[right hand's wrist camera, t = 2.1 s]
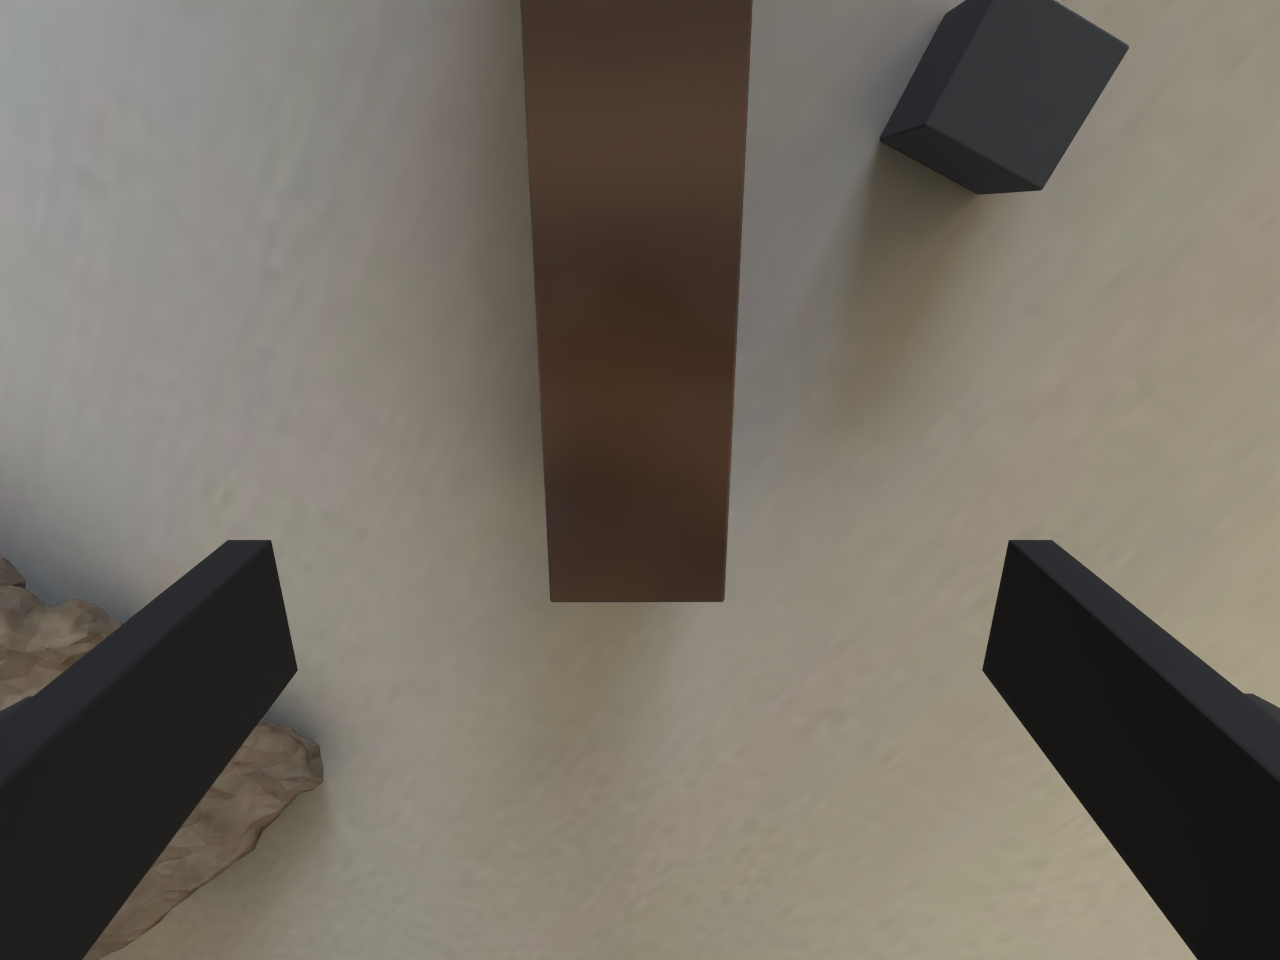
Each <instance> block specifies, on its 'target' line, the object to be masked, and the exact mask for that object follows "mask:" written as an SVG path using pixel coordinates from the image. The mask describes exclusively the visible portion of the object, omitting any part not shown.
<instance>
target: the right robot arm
mask: <svg viewBox="0 0 1280 960" xmlns="http://www.w3.org/2000/svg"><path fill="white" fill-rule="evenodd" d="M297 671H298V669H297V665H296V660H295V655H294V650H293V645H292V640H291V635H290V630H289V626H288V621H287V616H286V611H285V606H284V601H283V596H282V591H281V586H280V582H279V577H278V572H277V567H276V562H275V557H274V552H273V547H272V543H271V540H228V541H226V542H225V543H224V544H223V545H221V546H220V547H219V548H218V549H216V550H215V551H214V552H213V553H211V554H210V555H209V556H208V557H206V558H205V559H204V560H203V561H201V562H200V563H199V564H198V565H196V566H195V567H194V568H193V569H191V570H190V571H189V572H188V573H186V574H185V575H184V576H183V577H181V578H180V579H179V580H178V581H176V582H175V583H174V584H173V585H171V586H170V587H169V588H168V589H166V590H165V591H164V592H163V593H161V594H160V595H159V596H158V597H156V598H155V599H154V600H153V601H151V602H150V603H149V604H148V605H146V606H145V607H144V608H143V609H141V610H140V611H139V612H138V613H136V614H135V615H134V616H133V617H131V618H130V619H129V620H128V621H126V622H125V623H124V624H123V625H121V626H120V627H119V628H118V629H116V630H115V631H114V632H113V633H111V634H110V635H109V636H108V637H106V638H105V639H104V640H103V641H101V642H100V643H99V644H98V645H96V646H95V647H94V648H93V649H91V650H90V651H89V652H88V653H86V654H85V655H84V656H83V657H81V658H80V659H79V660H78V661H76V662H75V663H74V664H73V665H71V666H70V667H69V668H68V669H66V670H65V671H64V672H63V673H61V674H60V675H59V676H58V677H56V678H55V679H54V680H53V681H52V682H50V683H49V684H48V685H47V686H45V687H44V688H43V689H42V690H40V691H39V692H38V693H37V694H35V695H34V696H28V697H26V698H24V699H22V700H20V701H19V702H17V703H15V704H13V705H11V706H9V707H7V708H5V709H3V710H2V711H0V960H82V959H83V958H84V957H85V955H86V954H87V953H88V951H89V950H90V949H91V947H92V946H93V945H94V943H95V942H96V941H97V939H98V938H99V937H100V935H101V934H102V933H103V931H104V930H105V928H106V927H107V926H108V924H109V923H110V922H111V920H112V919H113V918H114V916H115V915H116V914H117V912H118V911H119V910H120V908H121V907H122V906H123V904H124V903H125V902H126V900H127V899H128V898H129V896H130V895H131V894H132V892H133V891H134V890H135V888H136V887H137V885H138V884H139V883H140V881H141V880H142V879H143V877H144V876H145V875H146V873H147V872H148V871H149V869H150V868H151V867H152V865H153V864H154V863H155V861H156V860H157V859H158V857H159V856H160V855H161V853H162V852H163V851H164V849H165V848H166V847H167V845H168V844H169V842H170V841H171V840H172V838H173V837H174V836H175V834H176V833H177V832H178V830H179V829H180V828H181V826H182V825H183V824H184V822H185V821H186V820H187V818H188V817H189V816H190V814H191V813H192V812H193V810H194V809H195V808H196V806H197V805H198V804H199V802H200V801H201V799H202V798H203V797H204V795H205V794H206V793H207V791H208V790H209V789H210V787H211V786H212V785H213V783H214V782H215V781H216V779H217V778H218V777H219V775H220V774H221V773H222V771H223V770H224V769H225V767H226V766H227V765H228V763H229V762H230V761H231V759H232V758H233V757H234V755H235V754H236V752H237V751H238V750H239V748H240V747H241V746H242V744H243V743H244V742H245V740H246V739H247V738H248V736H249V735H250V734H251V732H252V731H253V730H254V728H255V727H256V726H257V724H258V723H259V722H260V720H261V719H262V718H263V716H264V715H265V714H266V712H267V711H268V709H269V708H270V707H271V705H272V704H273V703H274V701H275V700H276V699H277V697H278V696H279V695H280V693H281V692H282V691H283V689H284V688H285V687H286V685H287V684H288V683H289V681H290V680H291V679H292V677H293V676H294V675H295V673H296V672H297ZM982 671H983V672H984V673H985V675H986V676H987V677H988V679H989V680H990V681H991V683H992V684H993V685H994V687H995V688H996V689H997V691H998V692H999V693H1000V695H1001V696H1002V697H1003V699H1004V700H1005V701H1006V703H1007V704H1008V705H1009V707H1010V708H1011V709H1012V711H1013V712H1014V714H1015V715H1016V716H1017V718H1018V719H1019V720H1020V722H1021V723H1022V724H1023V726H1024V727H1025V728H1026V730H1027V731H1028V732H1029V734H1030V735H1031V736H1032V738H1033V739H1034V740H1035V742H1036V743H1037V744H1038V746H1039V747H1040V748H1041V750H1042V751H1043V752H1044V754H1045V755H1046V757H1047V758H1048V759H1049V761H1050V762H1051V763H1052V765H1053V766H1054V767H1055V769H1056V770H1057V771H1058V773H1059V774H1060V775H1061V777H1062V778H1063V779H1064V781H1065V782H1066V783H1067V785H1068V786H1069V787H1070V789H1071V790H1072V791H1073V793H1074V794H1075V795H1076V797H1077V798H1078V800H1079V801H1080V802H1081V804H1082V805H1083V806H1084V808H1085V809H1086V810H1087V812H1088V813H1089V814H1090V816H1091V817H1092V818H1093V820H1094V821H1095V822H1096V824H1097V825H1098V826H1099V828H1100V829H1101V830H1102V832H1103V833H1104V834H1105V836H1106V837H1107V838H1108V840H1109V841H1110V842H1111V844H1112V845H1113V847H1114V848H1115V849H1116V851H1117V852H1118V853H1119V855H1120V856H1121V857H1122V859H1123V860H1124V861H1125V863H1126V864H1127V865H1128V867H1129V868H1130V869H1131V871H1132V872H1133V873H1134V875H1135V876H1136V877H1137V879H1138V880H1139V881H1140V883H1141V884H1142V885H1143V887H1144V888H1145V890H1146V891H1147V892H1148V894H1149V895H1150V896H1151V898H1152V899H1153V900H1154V902H1155V903H1156V904H1157V906H1158V907H1159V908H1160V910H1161V911H1162V912H1163V914H1164V915H1165V916H1166V918H1167V919H1168V920H1169V922H1170V923H1171V924H1172V926H1173V927H1174V928H1175V930H1176V931H1177V933H1178V934H1179V935H1180V937H1181V938H1182V939H1183V941H1184V942H1185V943H1186V945H1187V946H1188V947H1189V949H1190V950H1191V951H1192V953H1193V954H1194V955H1195V957H1196V958H1197V959H1198V960H1280V708H1279V707H1277V706H1275V705H1273V704H1271V703H1269V702H1267V701H1265V700H1263V699H1261V698H1260V697H1258V696H1256V695H1254V694H1243V693H1242V692H1241V691H1240V690H1238V689H1237V688H1236V687H1235V686H1233V685H1232V684H1231V683H1230V682H1228V681H1227V680H1226V679H1225V678H1223V677H1222V676H1221V675H1220V674H1219V673H1217V672H1216V671H1215V670H1214V669H1212V668H1211V667H1210V666H1209V665H1207V664H1206V663H1205V662H1204V661H1202V660H1201V659H1200V658H1199V657H1197V656H1196V655H1195V654H1194V653H1192V652H1191V651H1190V650H1189V649H1187V648H1186V647H1185V646H1184V645H1182V644H1181V643H1180V642H1179V641H1177V640H1176V639H1175V638H1174V637H1172V636H1171V635H1170V634H1169V633H1167V632H1166V631H1165V630H1164V629H1162V628H1161V627H1160V626H1159V625H1157V624H1156V623H1155V622H1154V621H1152V620H1151V619H1150V618H1149V617H1147V616H1146V615H1145V614H1144V613H1142V612H1141V611H1140V610H1139V609H1137V608H1136V607H1135V606H1134V605H1132V604H1131V603H1130V602H1129V601H1127V600H1126V599H1125V598H1124V597H1122V596H1121V595H1120V594H1119V593H1117V592H1116V591H1115V590H1114V589H1112V588H1111V587H1110V586H1109V585H1107V584H1106V583H1105V582H1104V581H1102V580H1101V579H1100V578H1099V577H1097V576H1096V575H1095V574H1094V573H1092V572H1091V571H1090V570H1089V569H1087V568H1086V567H1085V566H1084V565H1082V564H1081V563H1080V562H1079V561H1077V560H1076V559H1075V558H1074V557H1072V556H1071V555H1070V554H1069V553H1067V552H1066V551H1065V550H1064V549H1062V548H1061V547H1060V546H1059V545H1057V544H1056V543H1055V542H1054V541H1052V540H1009V543H1008V547H1007V552H1006V557H1005V562H1004V567H1003V572H1002V577H1001V582H1000V586H999V591H998V596H997V601H996V606H995V611H994V616H993V621H992V626H991V630H990V635H989V640H988V645H987V650H986V655H985V660H984V665H983V669H982Z"/></svg>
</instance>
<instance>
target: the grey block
mask: <svg viewBox="0 0 1280 960" xmlns="http://www.w3.org/2000/svg"><path fill="white" fill-rule="evenodd" d="M1128 49H1129V46H1128V45H1127V44H1125V43H1124V42H1122V41H1121V40H1119V39H1117V38H1116V37H1114V36H1112V35H1111V34H1109V33H1107V32H1106V31H1104V30H1102V29H1101V28H1099V27H1097V26H1096V25H1094V24H1092V23H1091V22H1089V21H1088V20H1086V19H1084V18H1083V17H1081V16H1079V15H1078V14H1076V13H1074V12H1073V11H1071V10H1069V9H1068V8H1066V7H1064V6H1063V5H1061V4H1059V3H1058V2H1056V1H1054V0H966V1H964V2H963V3H961V4H960V5H958V6H957V7H955V8H954V9H952V10H951V11H949V12H948V13H946V14H945V16H944V18H943V20H942V21H941V23H940V25H939V27H938V29H937V31H936V33H935V35H934V37H933V38H932V40H931V42H930V44H929V46H928V48H927V50H926V52H925V54H924V56H923V57H922V59H921V61H920V63H919V65H918V67H917V69H916V71H915V73H914V74H913V76H912V78H911V80H910V82H909V84H908V86H907V88H906V90H905V92H904V93H903V95H902V97H901V99H900V101H899V103H898V105H897V107H896V109H895V110H894V112H893V114H892V116H891V118H890V120H889V122H888V124H887V126H886V128H885V129H884V131H883V133H882V135H881V137H880V141H881V142H883V143H885V144H887V145H889V146H890V147H892V148H894V149H896V150H898V151H900V152H901V153H903V154H905V155H907V156H909V157H911V158H912V159H914V160H916V161H918V162H920V163H922V164H923V165H925V166H927V167H929V168H931V169H933V170H934V171H936V172H938V173H940V174H942V175H944V176H945V177H947V178H949V179H951V180H953V181H955V182H956V183H958V184H960V185H962V186H964V187H966V188H967V189H969V190H971V191H973V192H975V193H977V194H994V193H1009V192H1023V191H1038V190H1042V189H1043V187H1044V186H1045V184H1046V182H1047V181H1048V179H1049V177H1050V176H1051V174H1052V173H1053V171H1054V169H1055V168H1056V166H1057V164H1058V163H1059V161H1060V160H1061V158H1062V156H1063V155H1064V153H1065V151H1066V150H1067V148H1068V147H1069V145H1070V143H1071V142H1072V140H1073V138H1074V137H1075V135H1076V133H1077V132H1078V130H1079V129H1080V127H1081V125H1082V124H1083V122H1084V120H1085V119H1086V117H1087V116H1088V114H1089V112H1090V111H1091V109H1092V107H1093V106H1094V104H1095V103H1096V101H1097V99H1098V98H1099V96H1100V94H1101V93H1102V91H1103V89H1104V88H1105V86H1106V85H1107V83H1108V81H1109V80H1110V78H1111V76H1112V75H1113V73H1114V72H1115V70H1116V68H1117V67H1118V65H1119V63H1120V62H1121V60H1122V59H1123V57H1124V55H1125V54H1126V52H1127V50H1128Z"/></svg>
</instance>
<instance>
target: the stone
mask: <svg viewBox="0 0 1280 960" xmlns="http://www.w3.org/2000/svg"><path fill="white" fill-rule="evenodd" d="M25 584H26V581H25V580H24V579H23V577H22V576H21V575H20V574H19V572H18V571H17V570H16V569H15V567H14V566H13V565H12V564H11V562H9V561H8V560H7V559H5V558H4V557H2V556H1V555H0V711H2V710H3V709H5V708H7V707H9V706H11V705H13V704H15V703H17V702H19V701H20V700H22V699H24V698H26V697H28V696H34V695H35V694H37V693H38V692H39V691H40V690H42V689H43V688H44V687H45V686H47V685H48V684H49V683H50V682H52V681H53V680H54V679H55V678H56V677H58V676H59V675H60V674H61V673H63V672H64V671H65V670H66V669H68V668H69V667H70V666H71V665H73V664H74V663H75V662H76V661H78V660H79V659H80V658H81V657H83V656H84V655H85V654H86V653H88V652H89V651H90V650H91V649H93V648H94V647H95V646H96V645H98V644H99V643H100V642H101V641H103V640H104V639H105V638H106V637H108V636H109V635H110V634H111V633H113V632H114V631H115V630H116V629H118V628H119V627H120V626H121V624H120V623H119V622H117V621H116V620H114V619H113V618H111V617H110V616H109V615H108V614H107V613H106V612H105V611H104V610H103V609H101V608H99V607H97V606H96V605H92V604H86V603H84V602H83V601H80V600H76V599H72V600H69V601H66V602H63V603H60V604H57V605H54V606H51V605H45V604H43V603H42V602H41V601H40V600H39V599H38V598H37V597H36V596H35V595H34V594H33V593H31V592H29V591H27V590H25ZM322 782H323V765H322V760H321V756H320V748H319V745H318V744H316V743H314V742H313V741H311V740H309V739H306V738H304V737H302V736H300V735H298V734H297V733H296V732H295V731H294V730H293V729H292V728H290V727H279V726H277V725H275V724H273V723H271V722H269V721H267V720H264V719H261V720H260V722H259V723H258V724H257V726H256V727H255V728H254V730H253V731H252V732H251V734H250V735H249V736H248V738H247V739H246V740H245V742H244V743H243V744H242V746H241V747H240V748H239V750H238V751H237V752H236V754H235V755H234V757H233V758H232V759H231V761H230V762H229V763H228V765H227V766H226V767H225V769H224V770H223V771H222V773H221V774H220V775H219V777H218V778H217V779H216V781H215V782H214V783H213V785H212V786H211V787H210V789H209V790H208V791H207V793H206V794H205V795H204V797H203V798H202V799H201V801H200V802H199V804H198V805H197V806H196V808H195V809H194V810H193V812H192V813H191V814H190V816H189V817H188V818H187V820H186V821H185V822H184V824H183V825H182V826H181V828H180V829H179V830H178V832H177V833H176V834H175V836H174V837H173V838H172V840H171V841H170V842H169V844H168V845H167V847H166V848H165V849H164V851H163V852H162V853H161V855H160V856H159V857H158V859H157V860H156V861H155V863H154V864H153V865H152V867H151V868H150V869H149V871H148V872H147V873H146V875H145V876H144V877H143V879H142V880H141V881H140V883H139V884H138V885H137V887H136V888H135V890H134V891H133V892H132V894H131V895H130V896H129V898H128V899H127V900H126V902H125V903H124V904H123V906H122V907H121V908H120V910H119V911H118V912H117V914H116V915H115V916H114V918H113V919H112V920H111V922H110V923H109V924H108V926H107V927H106V928H105V930H104V931H103V933H102V934H101V935H100V937H99V938H98V939H97V941H96V942H95V943H94V945H93V946H92V947H91V949H90V950H89V951H88V953H87V954H86V955H85V957H84V958H83V959H82V960H98V959H100V958H102V957H104V956H106V955H108V954H110V953H112V952H114V951H117V950H119V949H121V948H124V947H125V946H126V945H128V944H129V943H131V942H132V941H134V940H135V939H137V938H138V937H140V936H141V935H142V934H144V933H145V932H147V931H148V930H149V929H151V928H152V927H153V926H155V925H156V924H158V923H159V922H160V921H161V920H162V919H163V918H164V917H165V916H166V914H167V913H168V912H169V911H170V910H171V909H172V908H174V907H175V906H177V905H178V904H179V903H181V902H182V901H183V900H185V899H186V898H188V897H189V896H190V895H191V894H193V893H194V892H195V891H196V890H197V889H199V887H201V886H203V885H204V884H206V883H208V882H209V881H211V880H212V879H214V878H215V877H217V876H218V875H219V874H221V873H222V872H223V871H225V870H226V869H227V868H228V867H230V866H231V865H232V864H234V863H235V862H236V861H238V860H239V859H241V858H242V857H244V856H245V855H247V854H248V853H250V852H251V851H253V850H254V849H255V847H256V844H257V842H258V840H259V838H260V836H261V833H262V831H263V830H264V829H265V828H266V827H267V826H269V825H270V824H271V823H272V822H273V821H274V820H275V819H276V818H277V817H278V816H279V815H280V813H281V812H282V811H283V810H284V809H285V808H286V807H287V806H288V805H289V804H290V803H291V802H292V801H293V800H294V799H295V798H296V797H297V796H298V795H299V794H300V793H301V792H306V791H310V790H313V789H314V788H315V787H317V786H318V785H319V784H321V783H322Z"/></svg>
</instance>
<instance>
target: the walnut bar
mask: <svg viewBox="0 0 1280 960" xmlns="http://www.w3.org/2000/svg"><path fill="white" fill-rule="evenodd" d="M752 2H753V0H520V6H521V26H522V46H523V66H524V86H525V106H526V126H527V146H528V166H529V186H530V206H531V225H532V245H533V265H534V285H535V305H536V325H537V345H538V365H539V385H540V405H541V425H542V445H543V465H544V484H545V504H546V524H547V544H548V564H549V584H550V600H551V602H723V601H724V598H725V577H726V556H727V534H728V513H729V492H730V470H731V449H732V428H733V407H734V385H735V364H736V343H737V321H738V300H739V279H740V258H741V236H742V215H743V194H744V172H745V151H746V130H747V108H748V87H749V66H750V45H751V23H752Z"/></svg>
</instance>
